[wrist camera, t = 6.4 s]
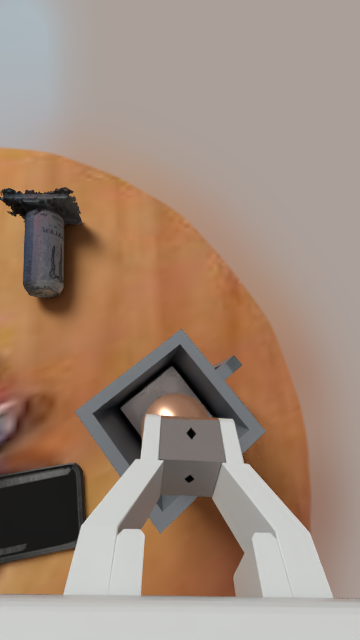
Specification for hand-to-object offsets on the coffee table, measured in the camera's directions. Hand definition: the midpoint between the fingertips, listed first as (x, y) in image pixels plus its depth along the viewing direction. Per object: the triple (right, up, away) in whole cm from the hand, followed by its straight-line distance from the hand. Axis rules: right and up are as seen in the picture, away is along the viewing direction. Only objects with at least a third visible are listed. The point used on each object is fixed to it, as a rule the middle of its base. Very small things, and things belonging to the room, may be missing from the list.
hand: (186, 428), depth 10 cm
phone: (-18, -17, +20) cm, 31 cm away
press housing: (-1, -6, +23) cm, 24 cm away
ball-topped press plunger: (-2, -5, +18) cm, 19 cm away
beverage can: (-17, +12, +27) cm, 34 cm away
